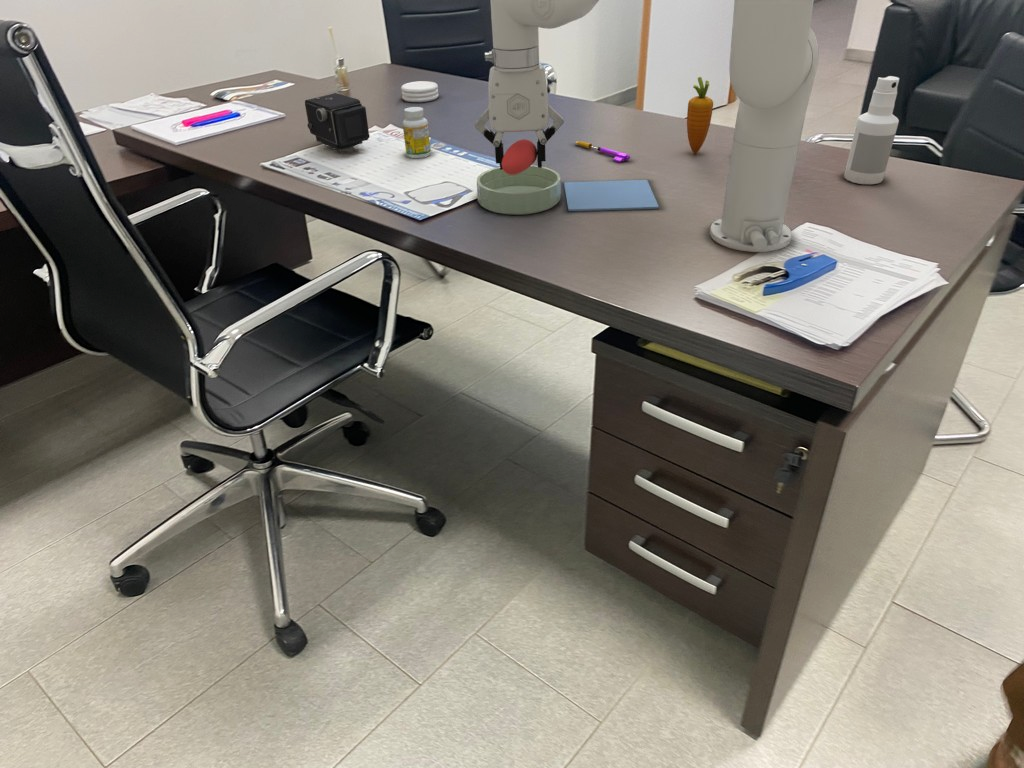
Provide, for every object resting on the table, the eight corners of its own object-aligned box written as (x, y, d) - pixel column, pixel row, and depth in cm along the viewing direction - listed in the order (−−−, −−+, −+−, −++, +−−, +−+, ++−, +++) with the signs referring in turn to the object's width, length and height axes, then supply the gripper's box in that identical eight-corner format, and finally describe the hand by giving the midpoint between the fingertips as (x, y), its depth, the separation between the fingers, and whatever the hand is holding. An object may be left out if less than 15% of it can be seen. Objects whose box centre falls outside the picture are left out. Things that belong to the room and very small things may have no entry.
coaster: (445, 96, 199) (444, 82, 197) (423, 104, 192) (422, 90, 190) (417, 92, 203) (416, 79, 201) (394, 100, 196) (393, 87, 194)
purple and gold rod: (631, 159, 149) (578, 143, 159) (630, 153, 148) (577, 138, 158) (622, 165, 148) (569, 148, 158) (621, 159, 147) (568, 143, 157)
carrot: (707, 157, 149) (716, 81, 140) (682, 157, 150) (690, 80, 141) (706, 150, 153) (716, 75, 144) (683, 149, 154) (690, 75, 145)
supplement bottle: (433, 156, 155) (428, 110, 149) (408, 159, 154) (403, 113, 148) (428, 149, 159) (423, 104, 154) (404, 152, 158) (399, 107, 152)
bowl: (562, 214, 126) (562, 192, 124) (476, 216, 127) (474, 194, 124) (558, 184, 139) (558, 163, 136) (479, 186, 139) (478, 165, 137)
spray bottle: (859, 187, 132) (885, 84, 122) (836, 175, 138) (859, 75, 127) (890, 182, 134) (919, 80, 123) (866, 171, 139) (892, 72, 129)
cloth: (658, 208, 127) (659, 206, 127) (568, 211, 127) (568, 209, 127) (646, 181, 138) (647, 179, 138) (563, 184, 139) (563, 182, 138)
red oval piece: (550, 172, 130) (544, 137, 130) (522, 169, 123) (515, 131, 122) (526, 180, 133) (520, 145, 133) (498, 176, 126) (492, 140, 125)
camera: (307, 152, 164) (341, 160, 154) (294, 100, 158) (328, 104, 148) (346, 142, 169) (382, 148, 159) (335, 90, 164) (371, 94, 154)
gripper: (463, 65, 116) (471, 175, 126) (570, 60, 115) (570, 170, 126) (465, 56, 122) (473, 162, 132) (567, 51, 121) (567, 157, 132)
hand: (520, 165), depth 129 cm, fingers closed on red oval piece, 6 cm apart
